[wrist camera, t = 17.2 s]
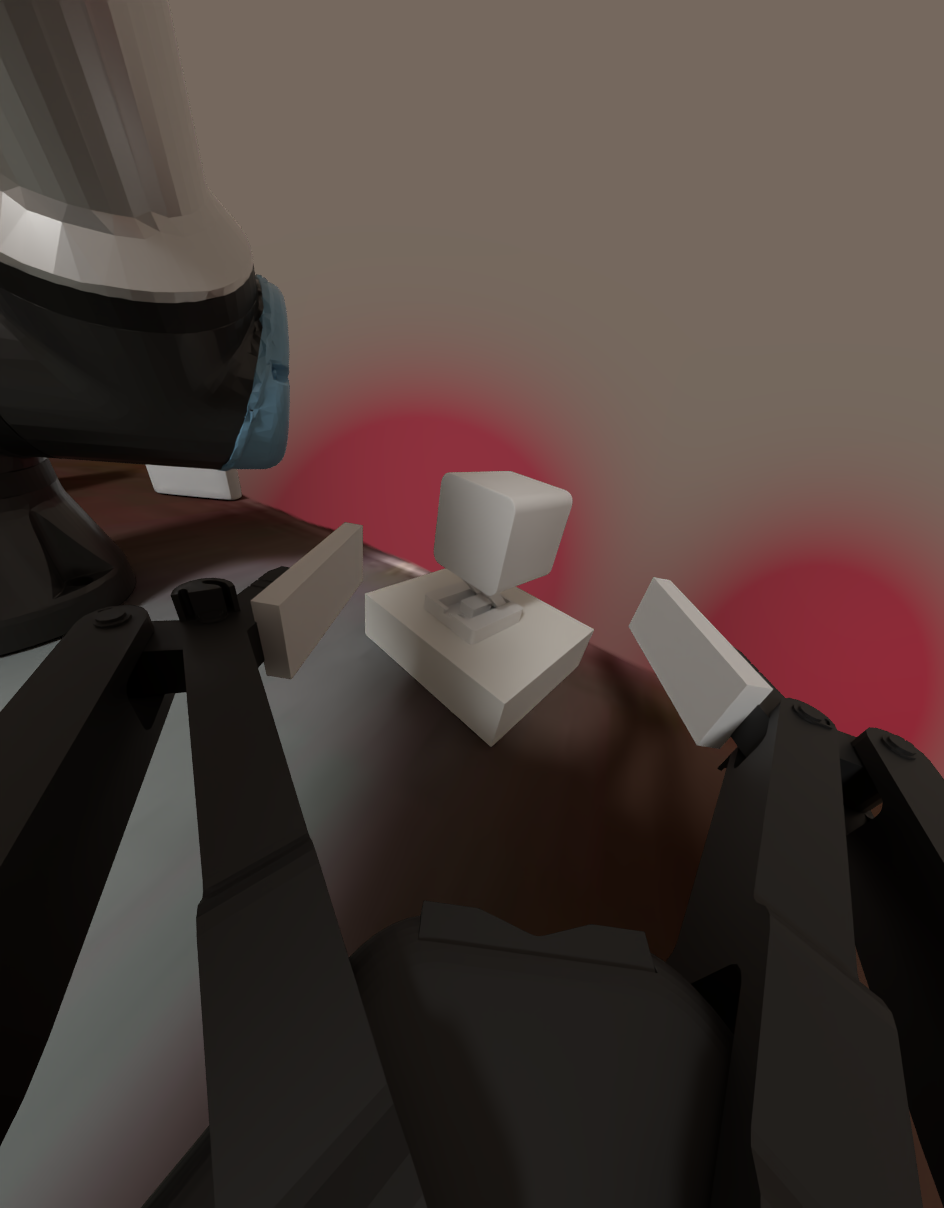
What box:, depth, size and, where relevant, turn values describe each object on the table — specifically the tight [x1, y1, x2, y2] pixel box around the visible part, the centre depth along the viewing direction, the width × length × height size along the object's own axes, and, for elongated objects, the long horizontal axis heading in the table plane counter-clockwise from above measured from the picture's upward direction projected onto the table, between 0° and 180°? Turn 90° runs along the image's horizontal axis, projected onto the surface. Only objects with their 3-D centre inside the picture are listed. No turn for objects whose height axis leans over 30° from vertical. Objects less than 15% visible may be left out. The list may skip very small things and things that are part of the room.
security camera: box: [424, 471, 572, 645], centre depth 24 cm, size 6×7×10 cm
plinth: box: [365, 568, 594, 747], centre depth 28 cm, size 14×12×4 cm
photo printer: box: [146, 465, 242, 500], centre depth 45 cm, size 10×4×12 cm, turn 98°
